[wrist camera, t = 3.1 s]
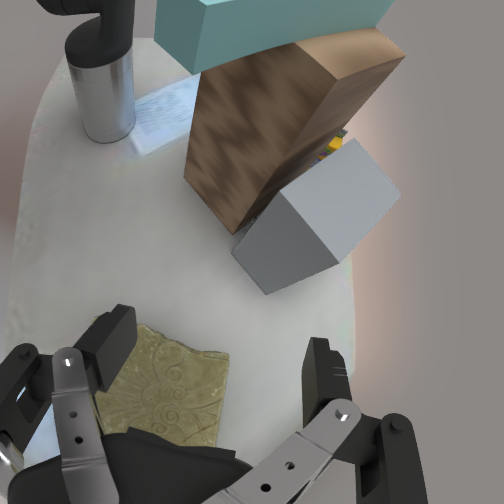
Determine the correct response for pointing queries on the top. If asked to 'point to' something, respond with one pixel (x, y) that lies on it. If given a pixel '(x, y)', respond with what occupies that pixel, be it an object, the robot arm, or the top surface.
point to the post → (278, 116)
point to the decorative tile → (167, 391)
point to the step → (316, 219)
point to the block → (252, 26)
